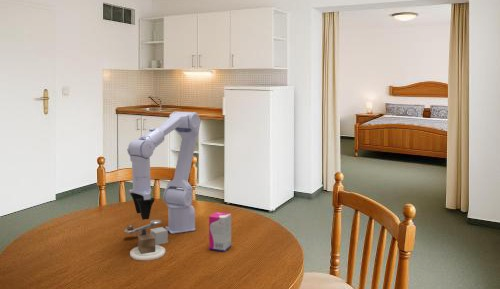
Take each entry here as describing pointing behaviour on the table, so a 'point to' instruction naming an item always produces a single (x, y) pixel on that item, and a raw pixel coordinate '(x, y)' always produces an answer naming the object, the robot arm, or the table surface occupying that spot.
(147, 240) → the walnut block
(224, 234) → the supplement box
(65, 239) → the table surface
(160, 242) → the grey block
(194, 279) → the table surface
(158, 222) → the balance
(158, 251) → the dish
